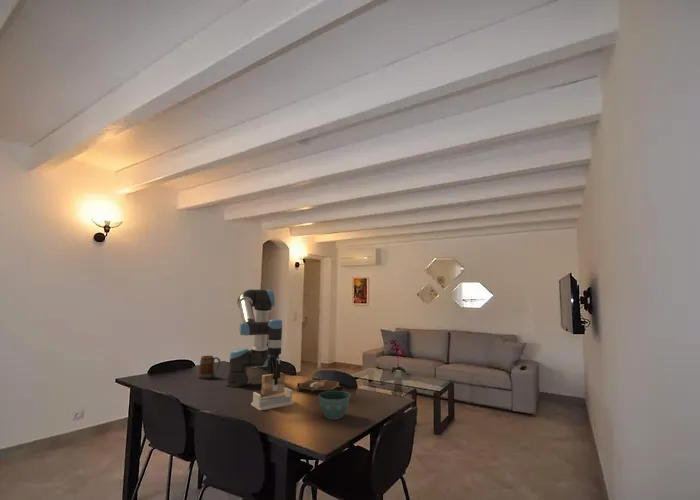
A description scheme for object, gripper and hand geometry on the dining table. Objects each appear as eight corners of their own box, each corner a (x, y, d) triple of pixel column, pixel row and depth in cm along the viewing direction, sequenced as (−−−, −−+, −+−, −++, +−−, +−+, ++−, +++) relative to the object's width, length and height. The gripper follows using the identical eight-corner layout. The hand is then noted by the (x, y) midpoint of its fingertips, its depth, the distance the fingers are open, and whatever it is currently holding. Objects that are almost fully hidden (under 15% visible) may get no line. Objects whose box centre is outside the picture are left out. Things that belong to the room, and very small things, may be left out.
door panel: (261, 393, 207) (262, 375, 208) (281, 390, 214) (281, 372, 215) (264, 395, 203) (265, 376, 205) (284, 392, 210) (284, 373, 212)
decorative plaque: (304, 378, 261) (346, 380, 255) (304, 382, 261) (346, 385, 255) (289, 388, 232) (336, 392, 226) (289, 393, 232) (335, 397, 226)
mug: (195, 378, 266) (196, 357, 268) (203, 375, 276) (204, 354, 278) (215, 380, 263) (216, 358, 265) (222, 376, 274) (224, 355, 275)
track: (251, 404, 207) (251, 391, 208) (283, 399, 219) (284, 386, 219) (259, 410, 197) (260, 396, 198) (293, 404, 209) (293, 391, 210)
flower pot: (324, 424, 179) (324, 400, 180) (313, 413, 193) (314, 392, 195) (354, 420, 185) (355, 397, 186) (342, 410, 200) (342, 389, 201)
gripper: (262, 345, 216) (260, 387, 213) (275, 349, 202) (273, 394, 200) (274, 344, 220) (272, 385, 218) (287, 348, 207) (286, 392, 204)
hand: (273, 389), depth 209 cm, fingers closed on door panel, 4 cm apart
